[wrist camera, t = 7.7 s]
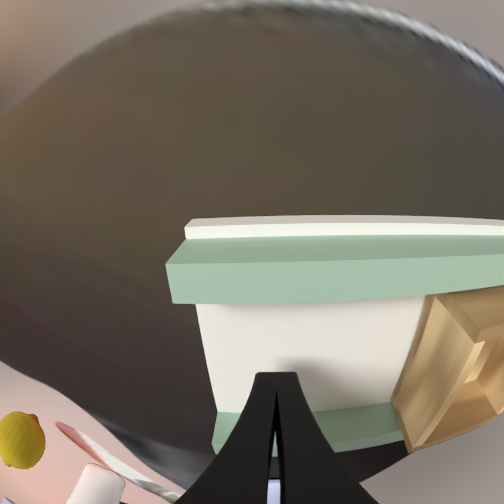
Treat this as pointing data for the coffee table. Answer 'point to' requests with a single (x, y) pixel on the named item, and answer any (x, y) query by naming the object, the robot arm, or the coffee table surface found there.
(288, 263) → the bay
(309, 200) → the coffee table surface
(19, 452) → the lemon
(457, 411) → the crate
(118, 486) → the drinking glass
